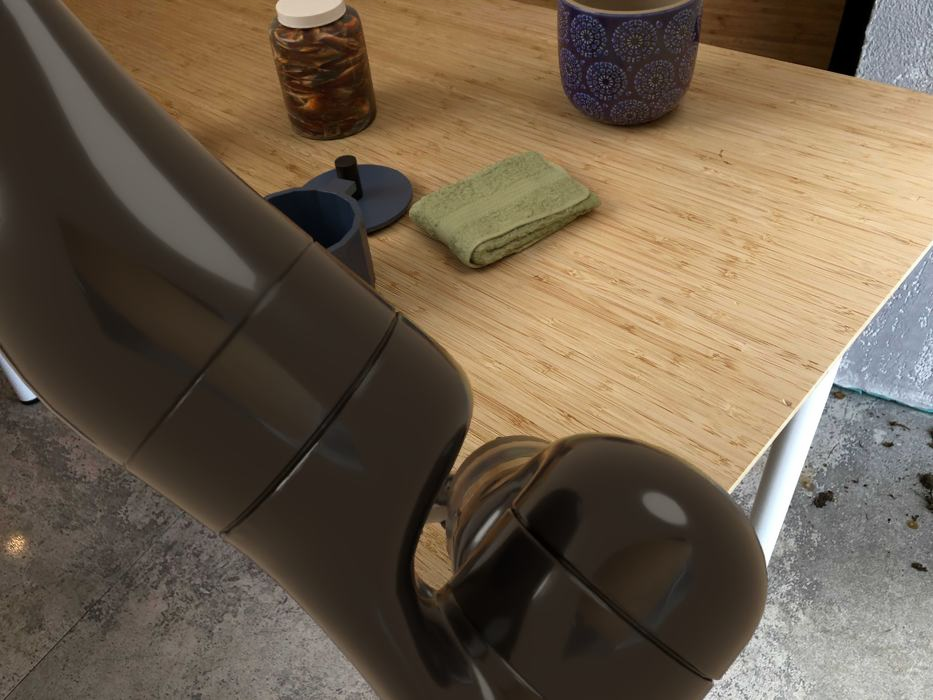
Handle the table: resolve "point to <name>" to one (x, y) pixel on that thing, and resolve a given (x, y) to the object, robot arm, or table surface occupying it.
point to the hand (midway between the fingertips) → (504, 479)
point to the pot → (331, 222)
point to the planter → (627, 56)
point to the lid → (371, 190)
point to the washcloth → (503, 208)
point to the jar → (322, 68)
